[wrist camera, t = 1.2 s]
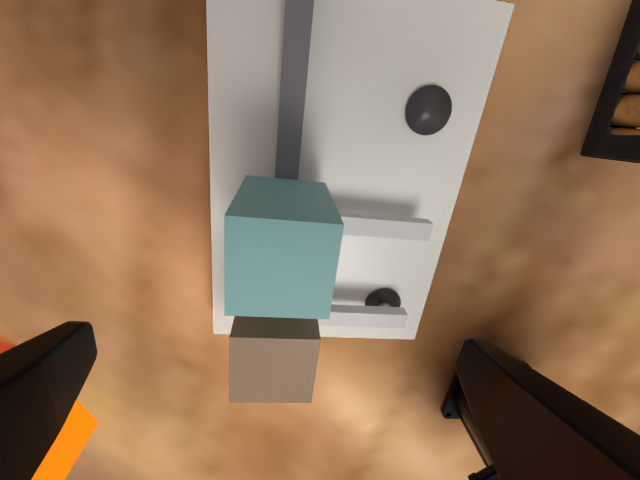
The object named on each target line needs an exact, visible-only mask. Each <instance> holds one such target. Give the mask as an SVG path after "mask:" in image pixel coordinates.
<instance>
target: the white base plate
mask: <svg viewBox="0 0 640 480" xmlns="http://www.w3.org/2000/svg"><path fill="white" fill-rule="evenodd" d="M514 6H515V4H512V3H506V2H501V1H495V0H206V13H207V59H208V105H209V151H210V196H211V242H212V288H213V334H230V337H229V402H243V403H311V400H312V394H313V387H314V380H315V374H316V367H317V360H318V354H319V347H320V340H321V339H320V337H347V338H381V339H415V336H416V332H417V329H418V326H419V322H420V319H421V316H422V312H423V309H424V306H425V302H426V299H427V296H428V292H429V289H430V286H431V282H432V279H433V276H434V272H435V269H436V266H437V262H438V259H439V256H440V252H441V249H442V246H443V242H444V239H445V236H446V232H447V229H448V226H449V222H450V219H451V216H452V212H453V209H454V206H455V202H456V199H457V196H458V192H459V189H460V186H461V182H462V179H463V176H464V172H465V169H466V166H467V162H468V159H469V156H470V152H471V149H472V146H473V142H474V139H475V136H476V132H477V129H478V126H479V122H480V119H481V116H482V112H483V109H484V106H485V102H486V99H487V96H488V92H489V89H490V86H491V82H492V79H493V76H494V72H495V69H496V66H497V62H498V59H499V56H500V52H501V49H502V46H503V42H504V39H505V36H506V32H507V29H508V26H509V22H510V19H511V16H512V12H513V9H514ZM246 175H250V176H260V177H271V178H282V179H292V180H303V181H313V182H324V183H326V185H327V188H328V190H329V192H330V194H331V197H332V199H333V201H334V203H335V205H336V208H337V210H338V212H349V213H362V214H374V215H386V216H398V217H402V216H409V217H410V218H422V219H428V220H429V221H431V222H432V223H433V228H432V232H431V235H430V239H429V241H421V240H408V239H394V238H380V237H367V236H353V235H342V242H341V248H340V254H339V261H338V267H337V273H336V279H335V286H334V292H333V298H332V305H331V311H330V317H329V319H305V318H278V317H251V316H225V314H224V215H225V213H226V211H227V209H228V207H229V206H230V204H231V202H232V200H233V198H234V197H235V195H236V193H237V191H238V189H239V187H240V186H241V184H242V182H243V180H244V178H245V177H246Z"/></svg>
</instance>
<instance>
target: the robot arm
mask: <svg viewBox="0 0 640 480" xmlns="http://www.w3.org/2000/svg"><path fill="white" fill-rule="evenodd" d="M96 356H97V347H96V342H95V337H94V332H93V327H92V325H91V324H90V323H89V322H83V321H68V322H65V323H63V324H61V325H59V326H57V327H55V328H53V329H51V330H49V331H47V332H45V333H43V334H40V335H38V336H36V337H34V338H32V339H30V340H28V341H26V342H24V343H22V344H20V345H18V346H16V347H13V348H11V349H9V350H7V351H5V352H3V353H1V354H0V480H31V479H32V478H33V476H34V474H35V473H36V471H37V470H38V468H39V466H40V465H41V463H42V461H43V460H44V458H45V456H46V455H47V453H48V452H49V450H50V448H51V447H52V445H53V443H54V442H55V440H56V438H57V436H58V435H59V433H60V431H61V429H62V428H63V426H64V424H65V422H66V420H67V418H68V416H69V414H70V412H71V410H72V408H73V406H74V403H75V401H76V399H77V397H78V395H79V393H80V391H81V389H82V387H83V385H84V383H85V381H86V379H87V377H88V375H89V373H90V371H91V368H92V366H93V364H94V362H95V360H96ZM456 371H457V372H456V375H455V378H454V380H453V383H452V385H451V388H450V390H449V393H448V396H447V398H446V401H445V403H444V406H443V408H442V411H441V413H442V415H443V417H444V418H446V419H461V421H462V423H463V425H464V427H465V428H466V430H467V432H468V434H469V436H470V438H471V440H472V441H473V443H474V445H475V447H476V449H477V451H478V453H479V454H480V456H481V458H482V460H483V462H484V464H485V465H486V468H484V469H482V470H480V471H479V472H477V473H472V474H470V475H469V476H468V478H469V480H640V435H638V434H637V433H635V432H634V431H632V430H630V429H629V428H627V427H626V426H624V425H622V424H621V423H619V422H617V421H616V420H614V419H613V418H611V417H609V416H608V415H606V414H605V413H603V412H601V411H600V410H598V409H596V408H595V407H593V406H592V405H590V404H588V403H587V402H585V401H584V400H582V399H580V398H579V397H577V396H575V395H574V394H572V393H571V392H569V391H567V390H566V389H564V388H563V387H561V386H559V385H558V384H556V383H555V382H553V381H551V380H550V379H548V378H546V377H545V376H543V375H542V374H540V373H538V372H537V371H535V370H534V369H532V368H531V367H530V366H529V365H528V364H527V363H522V362H521V361H519V360H517V359H516V358H514V357H513V356H511V355H509V354H508V353H506V352H504V351H503V350H501V349H500V348H498V347H496V346H495V345H493V344H492V343H490V342H488V341H487V340H485V339H483V338H475V337H468V338H466V339H465V340H464V342H463V344H462V347H461V349H460V352H459V354H458V357H457V359H456Z"/></svg>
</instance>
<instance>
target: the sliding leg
mask: <svg viewBox="0 0 640 480" xmlns="http://www.w3.org/2000/svg"><path fill="white" fill-rule="evenodd" d="M432 228H433V223H432V222H431V221H429V220H428V219H422V218H410V217H409V216H402V217H398V216H386V215H374V214H362V213H349V212H338V210H337V208H336V205H335V203H334V201H333V199H332V197H331V194H330V192H329V190H328V188H327V185H326V183H324V182H313V181H303V180H292V179H282V178H271V177H260V176H250V175H246V177H245V178H244V180H243V182H242V184H241V186H240V187H239V189H238V191H237V193H236V195H235V197H234V198H233V200H232V202H231V204H230V206H229V207H228V209H227V211H226V213H225V215H224V314H225V316H251V317H278V318H305V319H329V317H330V311H331V305H332V298H333V292H334V286H335V279H336V273H337V267H338V261H339V254H340V248H341V242H342V235H353V236H367V237H380V238H394V239H408V240H421V241H429V239H430V235H431V232H432Z"/></svg>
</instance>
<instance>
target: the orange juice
mask: <svg viewBox="0 0 640 480" xmlns="http://www.w3.org/2000/svg"><path fill="white" fill-rule="evenodd" d="M97 423H98V421H97V420H96V419H95V418H94V417H93V416H92V415H91V414H90V413H89V412H88V411H87V410H86V409H85V408H84V407H83V406H82V405H81V404H80V403H79V402H78V401H77V400H76V401H75V403H74V406H73V408H72V410H71V412H70V414H69V416H68V418H67V420H66V422H65V424H64V426H63V428H62V429H61V431H60V433H59V435H58V436H57V438H56V440H55V442H54V443H53V445H52V447H51V448H50V450H49V452H48V453H47V455H46V456H45V458H44V460H43V461H42V463H41V465H40V466H39V468H38V470H37V471H36V473H35V474H34V476H33V478H32V479H31V480H65V478H66V476H67V474H68V473H69V471H70V469H71V468H72V466H73V464H74V463H75V461H76V459H77V457H78V456H79V454H80V452H81V451H82V449H83V447H84V446H85V444H86V442H87V440H88V439H89V437H90V435H91V434H92V432H93V430H94V429H95V427H96V425H97Z"/></svg>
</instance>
